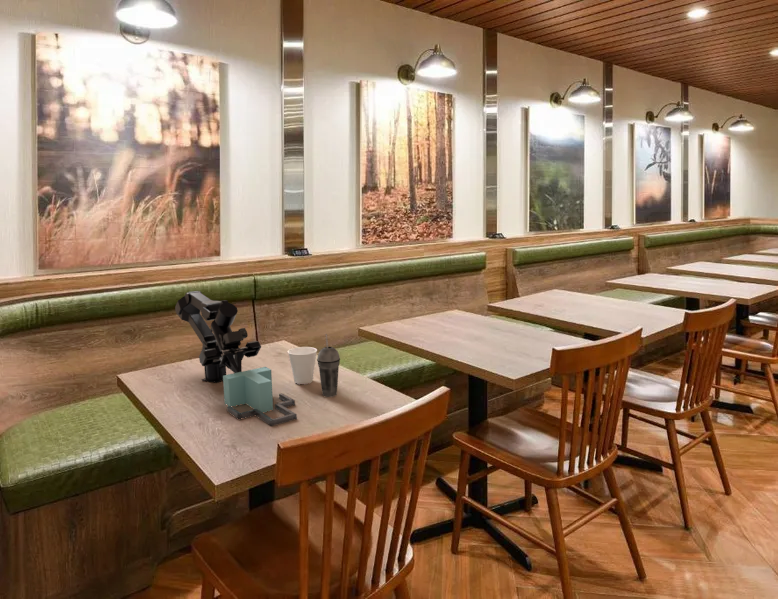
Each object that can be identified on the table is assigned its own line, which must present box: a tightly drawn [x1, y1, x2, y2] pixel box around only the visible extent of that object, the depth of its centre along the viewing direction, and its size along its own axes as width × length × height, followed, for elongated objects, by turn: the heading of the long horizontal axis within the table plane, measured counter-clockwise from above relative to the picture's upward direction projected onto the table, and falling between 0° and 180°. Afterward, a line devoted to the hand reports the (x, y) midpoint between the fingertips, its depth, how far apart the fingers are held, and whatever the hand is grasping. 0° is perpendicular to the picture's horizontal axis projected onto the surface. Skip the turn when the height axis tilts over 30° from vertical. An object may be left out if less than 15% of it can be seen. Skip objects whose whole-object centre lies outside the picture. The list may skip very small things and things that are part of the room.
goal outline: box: [226, 392, 298, 427], centre depth 169 cm, size 18×18×2 cm
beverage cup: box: [316, 333, 341, 398], centre depth 182 cm, size 7×7×20 cm
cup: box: [287, 346, 318, 385], centre depth 195 cm, size 10×10×11 cm
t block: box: [222, 366, 274, 413], centre depth 174 cm, size 14×14×9 cm
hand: (240, 375), depth 182 cm, fingers closed
